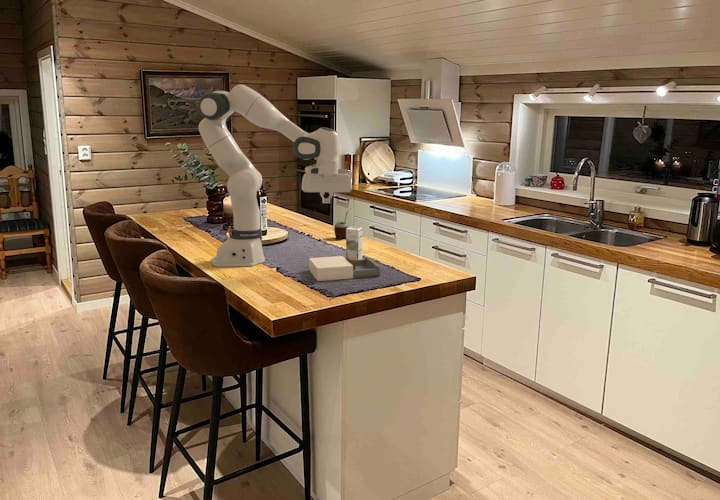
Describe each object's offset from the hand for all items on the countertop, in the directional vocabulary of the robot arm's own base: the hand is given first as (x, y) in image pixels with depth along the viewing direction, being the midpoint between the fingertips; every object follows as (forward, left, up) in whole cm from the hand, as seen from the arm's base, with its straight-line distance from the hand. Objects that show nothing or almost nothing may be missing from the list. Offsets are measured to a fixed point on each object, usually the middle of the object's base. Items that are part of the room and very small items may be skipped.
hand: (326, 203), depth 245 cm
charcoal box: (+11, -13, -26) cm, 31 cm away
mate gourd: (+20, +48, -27) cm, 58 cm away
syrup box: (+14, +5, -27) cm, 30 cm away
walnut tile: (+6, -13, -23) cm, 27 cm away
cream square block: (-1, -13, -26) cm, 29 cm away
